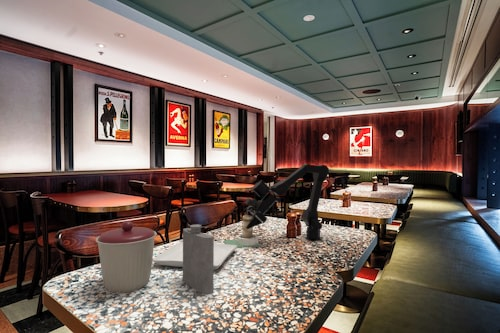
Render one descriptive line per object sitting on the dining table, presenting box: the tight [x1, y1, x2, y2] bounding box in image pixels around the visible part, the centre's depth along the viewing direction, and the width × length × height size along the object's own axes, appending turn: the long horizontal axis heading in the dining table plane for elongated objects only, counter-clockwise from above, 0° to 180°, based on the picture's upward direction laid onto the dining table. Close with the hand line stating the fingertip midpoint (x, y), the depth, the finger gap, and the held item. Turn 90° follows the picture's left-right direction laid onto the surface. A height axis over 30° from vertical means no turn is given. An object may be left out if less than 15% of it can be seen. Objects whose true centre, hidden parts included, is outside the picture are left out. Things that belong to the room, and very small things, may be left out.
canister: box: [94, 220, 157, 294], centre depth 90 cm, size 18×18×21 cm
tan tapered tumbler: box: [242, 214, 254, 239], centre depth 138 cm, size 5×5×13 cm
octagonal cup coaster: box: [223, 233, 261, 249], centre depth 137 cm, size 18×15×4 cm
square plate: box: [152, 241, 238, 270], centre depth 115 cm, size 27×27×4 cm
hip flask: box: [182, 224, 215, 295], centre depth 90 cm, size 16×4×20 cm, turn 42°
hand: (244, 226), depth 138 cm, fingers open, 9 cm apart
